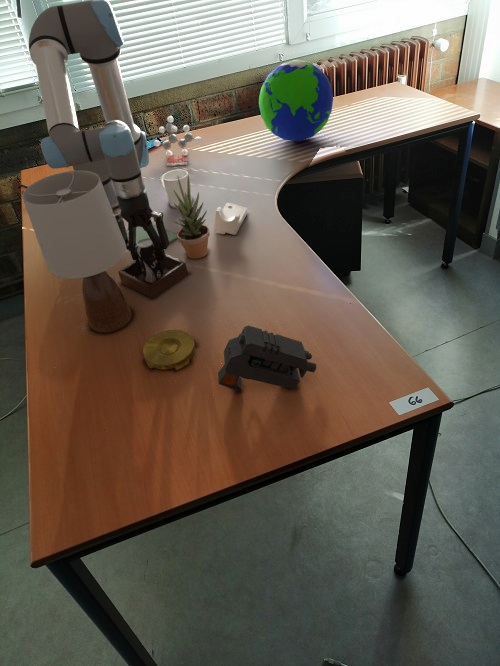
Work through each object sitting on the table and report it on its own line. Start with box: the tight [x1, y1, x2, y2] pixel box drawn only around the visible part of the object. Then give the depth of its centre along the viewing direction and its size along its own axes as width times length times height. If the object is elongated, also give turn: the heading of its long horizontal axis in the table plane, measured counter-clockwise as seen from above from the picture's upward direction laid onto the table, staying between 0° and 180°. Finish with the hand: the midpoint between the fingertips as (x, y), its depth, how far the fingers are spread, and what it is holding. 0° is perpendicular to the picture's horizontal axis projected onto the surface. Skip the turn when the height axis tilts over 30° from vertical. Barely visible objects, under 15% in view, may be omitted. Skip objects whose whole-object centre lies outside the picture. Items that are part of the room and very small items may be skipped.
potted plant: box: [173, 174, 211, 260], centre depth 143 cm, size 10×10×25 cm
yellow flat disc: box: [142, 329, 196, 371], centre depth 118 cm, size 12×12×2 cm
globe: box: [258, 59, 334, 142], centre depth 202 cm, size 30×30×30 cm
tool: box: [217, 324, 317, 392], centre depth 105 cm, size 6×19×15 cm, turn 95°
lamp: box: [22, 170, 132, 334], centre depth 119 cm, size 19×19×37 cm
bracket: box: [213, 202, 248, 236], centre depth 160 cm, size 13×7×8 cm, turn 165°
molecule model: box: [153, 115, 202, 167], centre depth 204 cm, size 20×16×16 cm
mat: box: [126, 225, 178, 247], centre depth 161 cm, size 18×12×1 cm, turn 50°
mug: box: [159, 168, 193, 209], centre depth 175 cm, size 11×9×10 cm
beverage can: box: [136, 238, 165, 284], centre depth 139 cm, size 6×6×12 cm
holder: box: [117, 253, 189, 300], centre depth 142 cm, size 14×14×4 cm
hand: (152, 269), depth 141 cm, fingers closed on beverage can, 6 cm apart
